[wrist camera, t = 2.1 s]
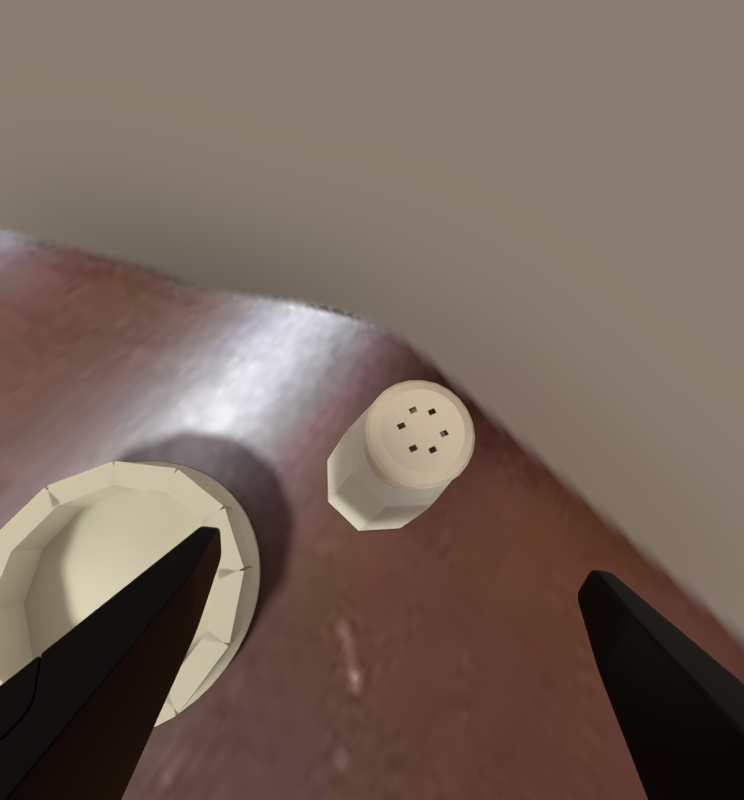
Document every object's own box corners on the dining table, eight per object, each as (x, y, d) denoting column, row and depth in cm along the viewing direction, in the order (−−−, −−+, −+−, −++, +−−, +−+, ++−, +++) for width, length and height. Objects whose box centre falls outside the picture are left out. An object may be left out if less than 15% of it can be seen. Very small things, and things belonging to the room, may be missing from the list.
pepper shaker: (445, 504, 20) (571, 483, 9) (350, 553, 18) (371, 593, 8) (398, 412, 21) (462, 303, 10) (307, 453, 20) (277, 376, 9)
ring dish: (294, 650, 17) (288, 670, 15) (25, 789, 15) (-32, 839, 12) (220, 430, 20) (205, 418, 17) (-16, 519, 17) (-68, 518, 15)
